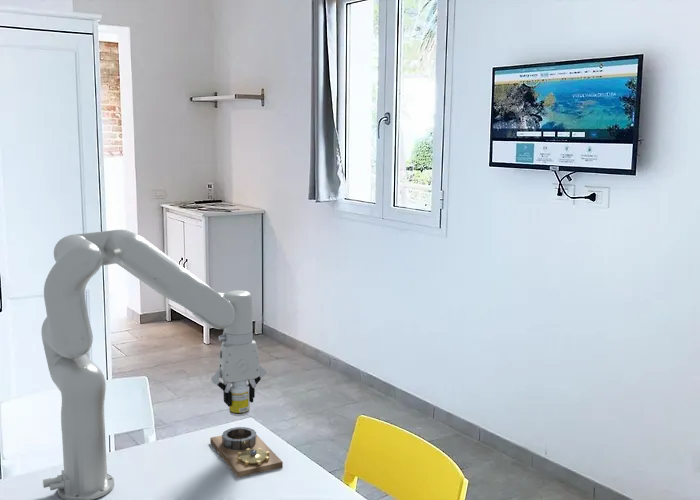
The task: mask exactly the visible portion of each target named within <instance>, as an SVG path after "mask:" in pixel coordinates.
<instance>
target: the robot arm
mask: <svg viewBox="0 0 700 500" xmlns="http://www.w3.org/2000/svg"><path fill="white" fill-rule="evenodd" d="M53 259H54V261H55V264H53V266H52V267H51V269H50V271H49V272H48V275H47V276H46V279H45V281H44V285H43V298H44V304H45V305H44V307H45V312H46V318H45V319H44V320H43V323H42V325H41V339H42V344H43V348H44V349H43V350H44V353H45V359H46V363H47V366H48V367H47V369H48V371H49V375H50V378H51V380H52V382H53V384H54V385H55V386H56V388H57V389H58V390H59V392H60V395H61V409H60V410H61V411H60V426H61V437H62V438H61V439H62V440H61V441H62V443H61V444H62V459H63V470H61V474H57V476H55V477H49V478H44V479H42V486H43V489H46V488H49V490H50V491H54V490H57V494H58V496H59V498H61V499H63V500H95V499H99V498H101V497H103V496H105V495H107V494H108V493H110V492H111V491H112V490H113V488H114V486H115V479H114V476H112V475H111V474H109V473H108V469H107V467H108V466H107V445H106V444H107V443H106V441H107V440H106V425H105V424H106V423H105V422H106V421H105V400H106V390H107V387H106V386H107V384H106V379H105V375H104V373H103V371H102V370H101V369H100V367H99V366H98V365H97V364H96V363H95V362H94V361H93V360H92V359H90V355H89V351H90V350H91V348H92V345H93V341H94V337H93V336H94V335H93V331H92V330H93V329H92V327H91V324H90V319H89V318H90V317H89V312H88V309H87V302H86V293H85V292H86V287H87V285H88V283H89V282H90V280H91V278H93V276H95V275H96V274H97V273H98V272H99V270H100V268H101V267H103V266H110V265H114V264H115V265H116V264H117V265H118V266H120V267H121V268H122V269H124V270H125V271H126V272H128V273H129V274H131V275H132V276H134V277H135V278H136V279H138V280H139V281H141V282H143V283H144V284H145V285H146V286H148V287H150V288H151V289H152V290H153V291H154V292H156V293H158V294H159V295H161V296H163V297H164V298H165V299H168V300H169V301H171V302H173V303H176V304H178V305H180V306H182V307H183V308H185V309H186V310H188V311H189V312H191V313H192V316H194V317H195V318H196V319H197V320H198V321H200V322H202V323H204V324H205V325H208V326H210V327H211V328H213V329H217V330H223V332H222V334H221V335H218V341H219V342H221V346H220V352H219V360H218V369H217V370H216V372H215V373H214V374H213V376H212V377H211V379H210V381H211V383H213V384H214V385H216V386H217V387H219V389H221V390H222V391H223V402H224V403H225V405H226V406H228V408H229V407H230V406H232V400H231V392H230V387H231V385H232V383H234V382H240V381H246V382H247V383H248V384H247V385H248V386H249V399H250V404H251V403H254V398H255V397H256V396H255V395H256V394H255V391H256V390H255V388H256V387H257V385H258V383H259V382H260V381H261V379H262V378H264V376H265V375H266V374H267V372H266V370H265V369H264V368H263V367H262V366H261V365H260V358H259V351H258V345H257V342H256V341H255V340H254V339H253V338H254V337H253V336H254V334H253V327H254V325H253V296H252V294H251V293H250V292H249V291H248V290H243V289H242V290H237V289H236V290H229V291H226V292H218V291H216V290H215V289H213V288H212V287H210V286H209V285H208V284H207V283H205V282H204V281H202V280H201V279H199V278H198V277H197V276H196V275H195V274H193V273H191V272H190V271H189V270H188V269H186V268H185V267H184V266H183V265H181V264H179V263H178V262H177V261H175V260H174V259H172V257H170V256H169V255H167V254H166V253H165V252H163V251H162V250H160V249H159V248H158V247H157V246H155V245H154V244H153V243H151V242H150V241H148V240H147V239H145V237H143V236H141V235H139V234H137V233H134V232H132V231H130V230H127V229H113V230H103V231H95V232H94V231H93V232H85V233H74V234H69V235H66V236H64V237H62V238H61V239H58V241H57V242H56V243H55V246H54V249H53ZM219 379H222V381H223V382H221V380H219Z"/></svg>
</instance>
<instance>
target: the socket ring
mask: <svg viewBox="0 0 700 500" xmlns="http://www.w3.org/2000/svg"><path fill="white" fill-rule="evenodd" d="M256 435H257V432H256V430H255V429H253V428H251V427H246V426H238V427H231V428H229V429H226V430H225V431H223V433H222V435H221V436H222V445H223V446H224V447H225V448H227V449H231V450H244V449H248V448H251V447H253V446H254V445H255V444H256ZM238 437H240V438H244V439H233V438H238Z"/></svg>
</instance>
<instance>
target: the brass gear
mask: <svg viewBox="0 0 700 500" xmlns="http://www.w3.org/2000/svg"><path fill="white" fill-rule="evenodd" d="M265 461H266V462H268V461H269V452H268V451H266V452H265V451H263V450H262V448H258V449H250V448H248V449H246V450H245V451H243V452H239V453H238V458H237V462H238V463H240V462H242V463H244V464H245V466H249V465H258V466H259V465H261V463H263V462H265Z"/></svg>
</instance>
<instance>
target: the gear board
mask: <svg viewBox="0 0 700 500" xmlns="http://www.w3.org/2000/svg"><path fill="white" fill-rule="evenodd" d="M233 439H244V438H240V437H238V438H233ZM210 444H211V446H212V447H213V448H214V450H216V452H217V453H218V454H219V456H220V457H221V458H222V459H223V461H224V462H225V463H226V465H227V466H228V467H229V468H230V470H231V471H232V472H233V474H235V476H236V478H242V477H246V476H251V475H255V474H256V475H257V474H258V473H263V472H268V471H272V470H276V469H281V468H283V467H284V466H283V463H284V462H283V461H282V460H281V458H279V456H278V455H276V453H275V452H274V451H273V450H272V449H271V448H270V446H268V445H267V444H266V443H265V442H264V441H263V440H262V439H261V438H260V436H258V435H257V434H256V444H255V445H254V446H253V447H251V448H250V449H258V448H262V450H263V451H265V452H266V451H268V452H269V461H268V462H266V461H265V462H263V463H261V465H259V466H258V465H249V466H245V464H244V463H242V462H240V463H238V462H237V458H238V453H239V452H243V451H245V450H246V449H244V450H231V449H227V448H225V447H224V446H223V445H222V435H217V436H213V437H212V436H211V437H210Z"/></svg>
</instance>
